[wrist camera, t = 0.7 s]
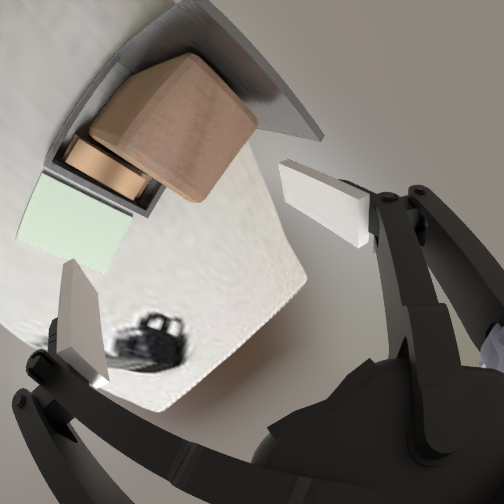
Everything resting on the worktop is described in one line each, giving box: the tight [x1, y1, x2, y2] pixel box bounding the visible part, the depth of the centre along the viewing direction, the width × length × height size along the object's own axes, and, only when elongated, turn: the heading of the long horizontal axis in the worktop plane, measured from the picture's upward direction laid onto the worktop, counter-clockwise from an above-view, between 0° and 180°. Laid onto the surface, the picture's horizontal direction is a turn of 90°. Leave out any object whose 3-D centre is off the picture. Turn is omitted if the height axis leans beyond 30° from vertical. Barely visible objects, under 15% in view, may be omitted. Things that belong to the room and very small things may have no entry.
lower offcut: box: [62, 134, 151, 199], centre depth 34 cm, size 13×4×2 cm, turn 49°
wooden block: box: [88, 53, 259, 203], centre depth 28 cm, size 10×10×20 cm
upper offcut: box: [65, 138, 146, 200], centre depth 32 cm, size 11×3×2 cm, turn 47°
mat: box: [16, 172, 133, 273], centre depth 35 cm, size 16×10×1 cm, turn 49°
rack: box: [43, 0, 324, 218], centre depth 26 cm, size 17×17×24 cm
